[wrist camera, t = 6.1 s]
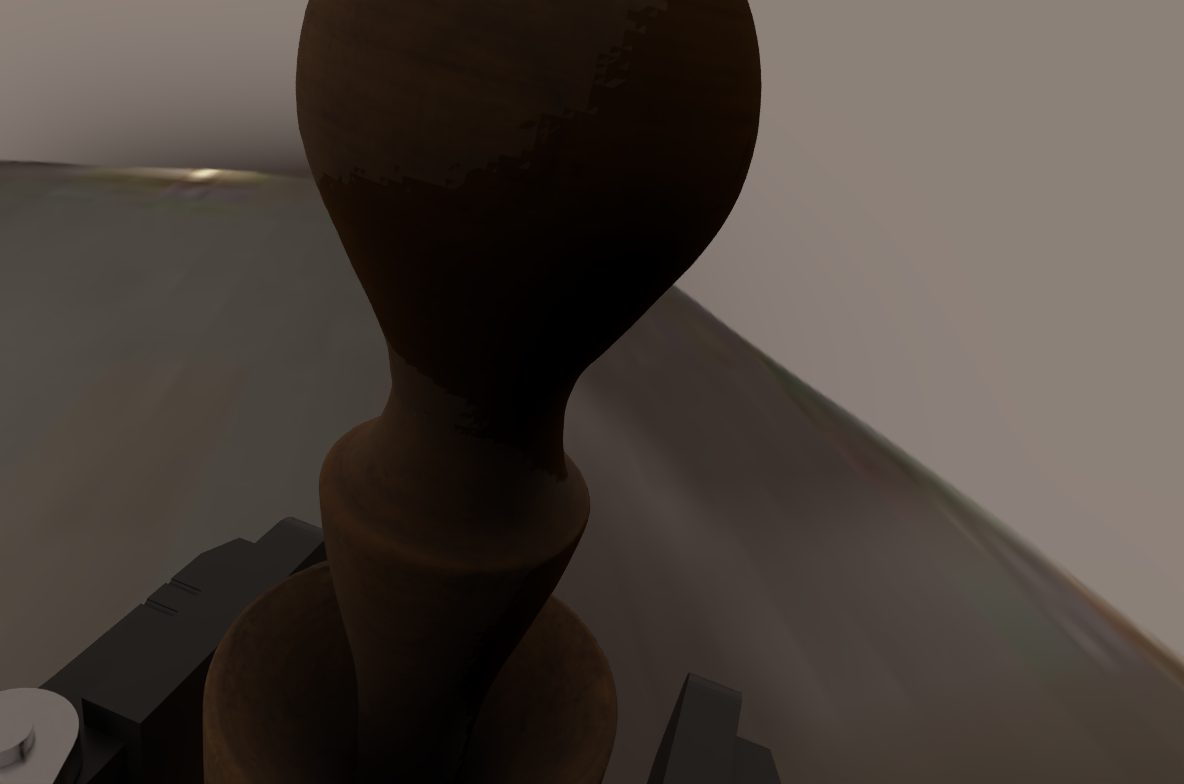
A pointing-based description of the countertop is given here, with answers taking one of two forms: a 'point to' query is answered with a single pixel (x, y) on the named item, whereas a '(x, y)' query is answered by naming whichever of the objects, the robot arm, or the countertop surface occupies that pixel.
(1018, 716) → the countertop surface
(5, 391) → the countertop surface
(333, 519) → the mortar and pestle
